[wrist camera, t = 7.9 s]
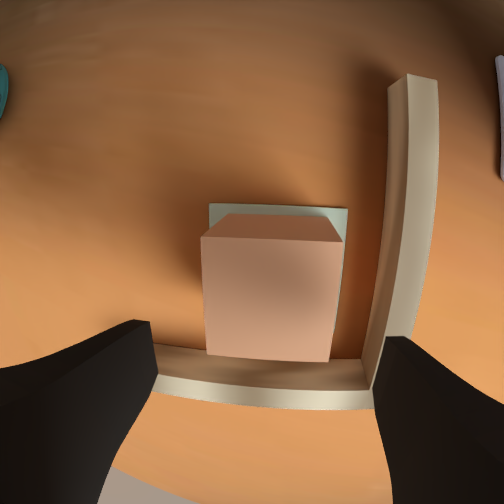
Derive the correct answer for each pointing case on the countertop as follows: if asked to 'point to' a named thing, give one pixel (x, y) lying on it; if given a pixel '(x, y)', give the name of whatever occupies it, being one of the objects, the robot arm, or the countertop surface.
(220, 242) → the cube
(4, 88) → the beverage bottle
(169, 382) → the l-shaped wall
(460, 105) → the countertop surface
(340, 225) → the pad
